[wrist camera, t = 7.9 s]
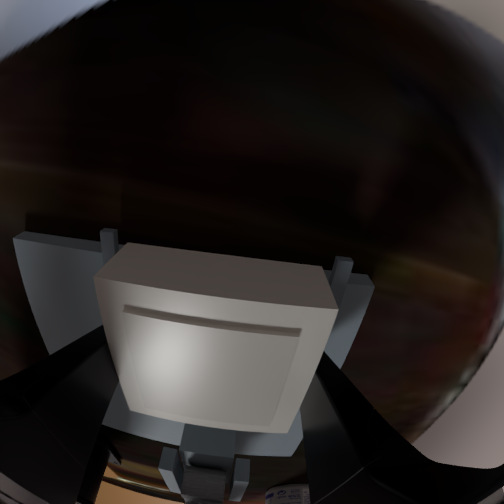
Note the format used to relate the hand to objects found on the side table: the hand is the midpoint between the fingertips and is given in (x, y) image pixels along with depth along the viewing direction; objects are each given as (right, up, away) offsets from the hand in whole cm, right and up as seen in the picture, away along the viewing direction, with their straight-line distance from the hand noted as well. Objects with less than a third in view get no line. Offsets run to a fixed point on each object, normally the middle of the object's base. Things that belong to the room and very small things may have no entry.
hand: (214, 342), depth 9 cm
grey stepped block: (-1, -10, +2) cm, 11 cm away
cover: (0, 0, 0) cm, 0 cm away
